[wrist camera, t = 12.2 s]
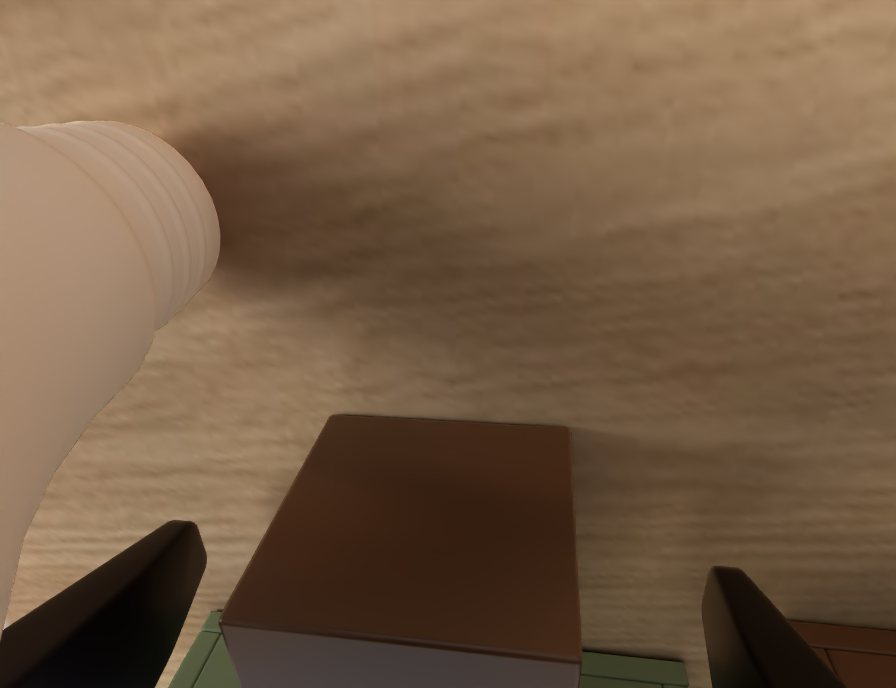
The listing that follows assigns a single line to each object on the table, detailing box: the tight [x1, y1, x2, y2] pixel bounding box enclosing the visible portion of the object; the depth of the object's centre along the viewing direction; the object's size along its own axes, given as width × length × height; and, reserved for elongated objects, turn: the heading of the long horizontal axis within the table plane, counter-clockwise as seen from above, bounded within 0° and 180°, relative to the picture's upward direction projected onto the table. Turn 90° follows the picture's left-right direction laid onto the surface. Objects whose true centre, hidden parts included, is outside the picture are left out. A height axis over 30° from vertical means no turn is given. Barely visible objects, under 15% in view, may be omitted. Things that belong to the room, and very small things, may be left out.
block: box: [219, 415, 582, 688], centre depth 9 cm, size 4×4×4 cm
